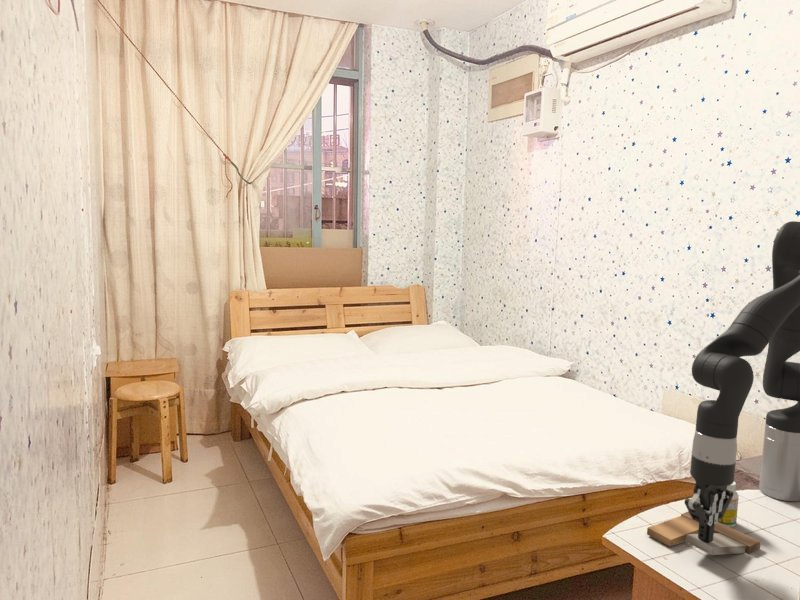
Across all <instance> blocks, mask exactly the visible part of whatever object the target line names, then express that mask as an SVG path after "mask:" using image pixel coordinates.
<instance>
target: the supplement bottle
mask: <svg viewBox="0 0 800 600" xmlns="http://www.w3.org/2000/svg"><path fill="white" fill-rule="evenodd" d="M736 488H737V482H736V481H734V482H733V484H731V485H729V486H727V489H728V490H729V491H732V492H733V493H734V495H733V497H732V499H731V501H730V503H729V505H728V507H727V510H726V512H725V514H724V516H723V518H722V519H719V518H718V521H717V522H719V523H721V524H724V525H726V526H728V527H730V528H734V527H735V526H737V525H736V524H737V517H738V507H739V494H738V492H737V491H736Z"/></svg>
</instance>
